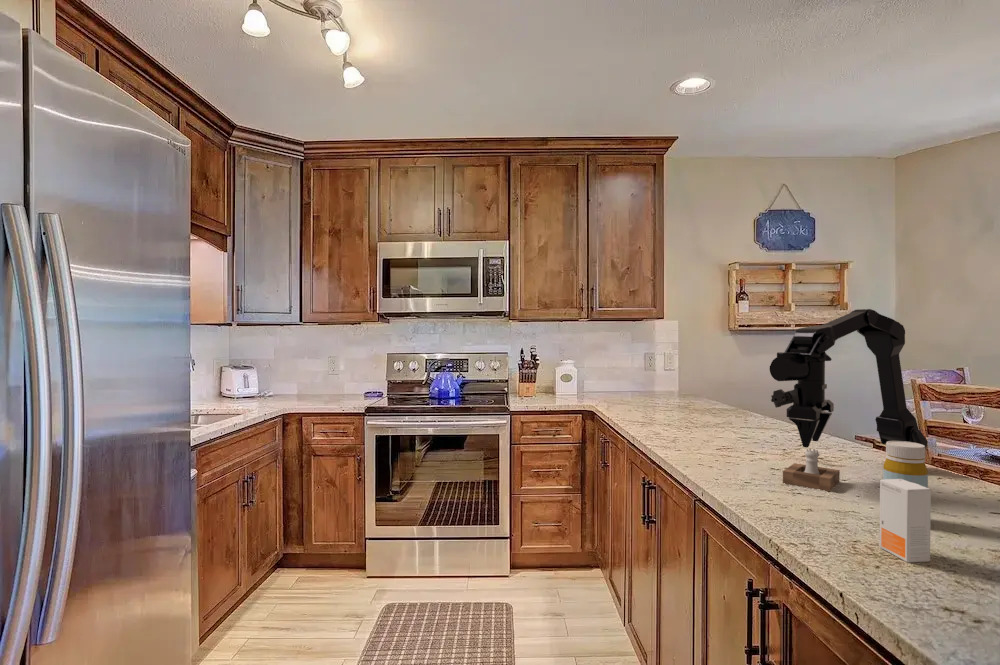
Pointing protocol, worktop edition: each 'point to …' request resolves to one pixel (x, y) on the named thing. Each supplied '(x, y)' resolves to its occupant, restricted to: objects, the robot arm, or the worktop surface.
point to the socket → (811, 477)
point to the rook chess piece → (811, 461)
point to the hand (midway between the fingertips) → (810, 444)
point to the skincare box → (905, 519)
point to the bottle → (905, 462)
